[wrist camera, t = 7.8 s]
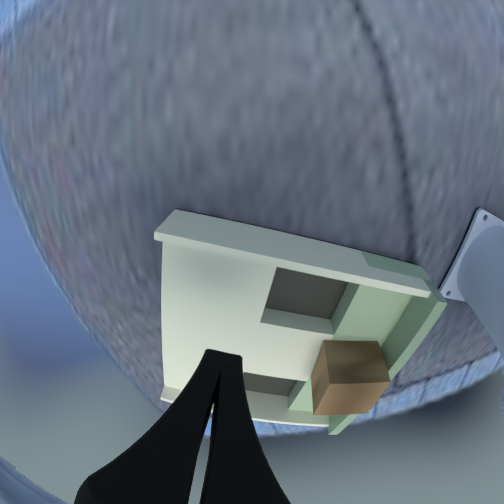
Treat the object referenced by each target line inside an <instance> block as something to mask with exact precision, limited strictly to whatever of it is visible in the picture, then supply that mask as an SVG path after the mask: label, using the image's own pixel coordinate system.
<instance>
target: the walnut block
mask: <svg viewBox="0 0 504 504" xmlns="http://www.w3.org/2000/svg"><path fill="white" fill-rule="evenodd" d="M390 382H391V380H390V377H389V374H388V370H387V367H386V364H385V361H384V358H383V354H382V351H381V348H380V345H379V342H378V341H337V340H323V343H322V346H321V348H320V351H319V354H318V357H317V360H316V362H315V365H314V368H313V371H312V373H311V387H312V402H313V415H348V414H364V413H368V412H369V411H370V409H371V408H372V407H373V405H374V404H375V403H376V401H377V400H378V399H379V397H380V396H381V395H382V393H383V392H384V391H385V389H386V388H387V386H388V385H389V384H390Z"/></svg>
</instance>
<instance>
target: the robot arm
mask: <svg viewBox="0 0 504 504" xmlns="http://www.w3.org/2000/svg"><path fill="white" fill-rule="evenodd" d="M484 215H485V217H484ZM483 217H484V218H483ZM439 291H440V293H441V294H442V295H443V297H444V298H449V299H454V300H459V301H463V302H467V303H468V305H469V306H470V307H471V309H472V310H473V312H474V313H475V314H476V316H477V317H478V319H479V320H480V322H481V323H482V325H483V326H484V328H485V329H486V331H487V332H488V334H489V336H490V337H491V339H492V340H493V342H494V344H495V345H496V347H497V348H498V350H499V352H500V354H501V355H502V357H503V359H504V221H503V220H501V219H499V218H498V217H496V216H494V215H492V214H491V213H489V212H487V211H485V210H484V209H482V208H479V209H478V210H477V211H476V213H475V216H474V218H473V221H472V223H471V226H470V228H469V230H468V233H467V235H466V237H465V239H464V242H463V244H462V246H461V248H460V250H459V252H458V254H457V256H456V258H455V260H454V262H453V264H452V266H451V268H450V270H449V272H448V274H447V276H446V278H445V279H444V281H443V283H442V285H441V287H440V288H439ZM501 373H502V375H503V376H504V368H503V369H502V371H501ZM212 407H213V415H212V425H211V436H210V447H209V456H208V462H207V467H206V472H205V477H204V483H203V488H202V493H201V499H200V503H199V504H291V503H290V502H289V500H288V499H287V497H286V495H285V494H284V492H283V490H282V489H281V487H280V485H279V483H278V482H277V480H276V478H275V476H274V474H273V472H272V470H271V468H270V466H269V464H268V462H267V459H266V457H265V455H264V453H263V450H262V447H261V445H260V442H259V439H258V437H257V434H256V431H255V427H254V424H253V421H252V417H251V414H250V410H249V405H248V401H247V396H246V391H245V385H244V377H243V358H242V357H241V355H236V354H231V353H227V352H222V351H217V350H213V349H206V350H205V352H204V355H203V357H202V359H201V361H200V363H199V365H198V367H197V368H196V370H195V372H194V373H193V375H192V377H191V378H190V380H189V381H188V383H187V384H186V386H185V387H184V389H183V390H182V392H181V393H180V394H179V396H178V397H177V398H176V399H175V401H174V402H173V403H172V405H171V406H170V407H169V408H168V410H167V411H166V412H165V413H164V414H163V415H162V416H161V418H160V419H159V420H158V421H157V422H156V423H155V424H154V425H153V426H152V427H151V428H150V429H149V430H148V431H147V432H146V433H145V434H144V435H143V436H142V437H141V438H140V439H139V440H138V441H136V442H135V443H134V444H133V445H132V446H131V447H130V448H128V449H127V450H126V451H124V452H123V453H122V454H121V455H119V456H118V457H117V458H115V459H114V460H113V461H112V462H110V463H109V464H107V465H106V466H104V467H102V468H101V469H100V470H98V471H97V472H95V473H93V474H91V475H90V476H88V478H87V479H86V480H85V481H84V482H83V484H82V485H81V487H80V488H79V490H78V492H77V495H76V499H75V502H74V504H188V501H189V496H190V491H191V485H192V481H193V476H194V471H195V466H196V461H197V456H198V452H199V448H200V445H201V442H202V439H203V436H204V432H205V429H206V426H207V423H208V420H209V416H210V413H211V410H212ZM501 407H502V412H503V416H504V386H503V389H502V394H501ZM0 504H68V503H67V502H65V501H63V500H61V499H59V498H58V497H56V496H54V495H53V494H51V493H49V492H48V491H46V490H44V489H43V488H42V487H40V486H38V485H37V484H35V483H34V482H33V481H31V480H30V479H28V478H27V477H25V476H24V475H23V474H21V473H20V472H19V471H17V470H16V468H15V467H14V466H13V465H12V464H10V463H9V462H8V461H6V460H5V459H4V458H3V457H2V456H1V455H0Z"/></svg>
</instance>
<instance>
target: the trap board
mask: <svg viewBox="0 0 504 504" xmlns="http://www.w3.org/2000/svg"><path fill="white" fill-rule="evenodd" d="M154 240H158V241H162V242H163V250H162V284H161V318H162V352H163V370H164V385H165V386H164V389H163V391H162V394H161V397H160V398H161V400H163V401H167V402H170V403H173V402H174V401H175V399H176V398H177V397H178V396H179V394H180V393H181V392H182V390H183V389H184V387H185V386H186V384H187V383H188V381H189V380H190V378H191V377H192V375H193V373H194V372H195V370H196V368H197V367H198V365H199V363H200V361H201V359H202V357H203V355H204V352H205V350H206V349H213V350H217V351H222V352H227V353H231V354H236V355H241V357H242V358H243V377H244V385H245V391H246V396H247V401H248V405H249V410H250V414H251V417H252V420H256V421H264V422H272V423H281V424H292V425H305V426H326V427H328V434H329V435H330V434H331V435H337V434H338V433H340V432H341V431H342V430H343V429H344V428H345V427H346V426H347V425H348V424H349V423H351V422H352V421H353V420H354V419H355V418H356V417H357V416H358V415H359V414H348V415H313V402H312V387H311V373H312V371H313V368H314V365H315V362H316V360H317V357H318V354H319V351H320V348H321V346H322V343H323V340H337V341H378V342H379V345H380V348H381V351H382V354H383V358H384V361H385V364H386V367H387V370H388V374H389V377H390V380H392V379H393V378H394V376H395V375H396V374H397V373H398V372H399V370H400V369H401V368H402V367H403V366H404V364H405V363H406V362H407V361H408V359H409V358H410V357H411V356H412V354H413V353H414V352H415V350H416V349H417V348H418V346H419V345H420V344H421V342H422V341H423V340H424V338H425V337H426V335H427V334H428V333H429V331H430V330H431V328H432V327H433V325H434V324H435V322H436V321H437V319H438V318H439V316H440V315H441V313H442V312H443V310H444V309H445V307H446V305H447V304H448V303H447V301H446V300H445V298H444V297H443V295H442V294H441V293H440V291H439V290H438V288H437V287H436V286H435V284H434V283H433V281H432V280H431V279H430V277H429V276H428V275H427V273H426V272H425V271H424V269H423V268H422V267H421V266H418V265H414V264H410V263H406V262H403V261H399V260H395V259H391V258H387V257H383V256H380V255H376V254H372V253H368V252H364V251H360V250H356V249H352V248H348V247H344V246H340V245H335V244H331V243H327V242H323V241H319V240H315V239H310V238H306V237H302V236H298V235H293V234H289V233H285V232H280V231H276V230H271V229H267V228H262V227H258V226H253V225H249V224H244V223H240V222H235V221H230V220H226V219H221V218H216V217H211V216H207V215H202V214H197V213H192V212H187V211H182V210H177V209H175V210H174V211H173V212H172V213H171V214H170V215H169V216H168V217H167V218H166V219H165V220H164V222H163V223H162V224H161V225H160V226H159V227H158V228H157V229H156V230H155V231H154ZM211 413H213V407H212V410H211Z"/></svg>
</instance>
